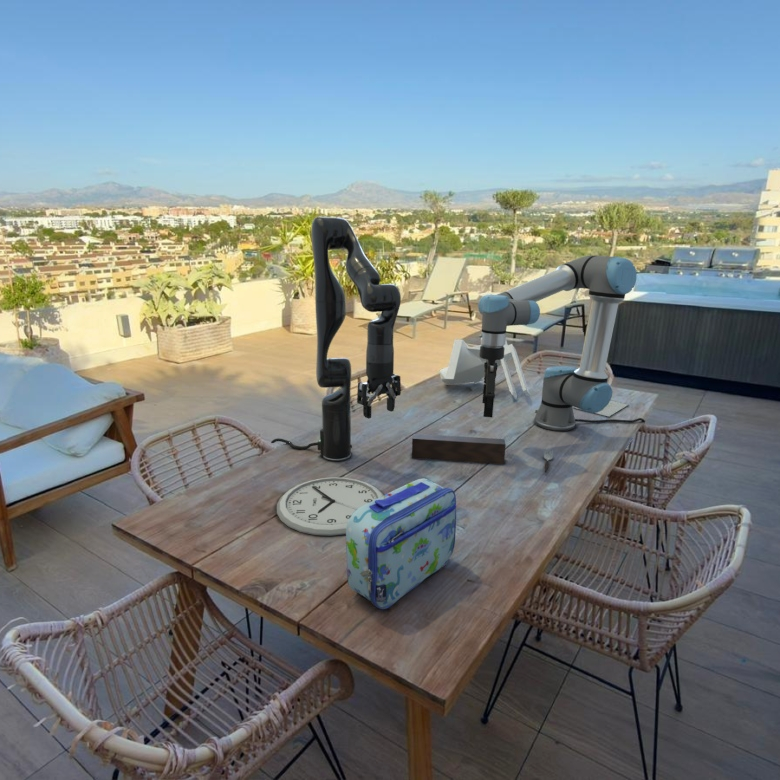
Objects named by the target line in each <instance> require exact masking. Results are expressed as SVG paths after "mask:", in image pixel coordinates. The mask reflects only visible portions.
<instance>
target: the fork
mask: <svg viewBox="0 0 780 780" xmlns="http://www.w3.org/2000/svg"><path fill="white" fill-rule="evenodd" d="M553 451H554V450H553V448H552V451H551V449H549V451H547V450H545V452H544V455H543V459H545V460H546V461H545V463H544V473H547V470H548V468H549V461H551V460H553Z"/></svg>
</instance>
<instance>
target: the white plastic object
mask: <svg viewBox="0 0 780 780" xmlns="http://www.w3.org/2000/svg"><path fill="white" fill-rule="evenodd" d="M481 345H482V344H479V345H473V346H469V345H468V343H466V342H465V340H464V339H463V338H460V339H458V338H454V340H453V344H452V349H451V353H450V357H449V362H448V366H446V367H444V368H442V369H440V370H439V371H438V372H439V376H440V381H442V383H443V384H444V385H445V386H449V385H458V384H467V383H468V384H469V383H473V384H477V383H480V382H482V381H484V376H485V372H484V363H485V362H486V359H483V358H481V357H480V346H481ZM503 347H504V348H505V349H504V358H503V359H501V360H496V361H495V363H497V368H499V367H500V366H502V370H503V373H504V376H505V380H506V383H507V386H508V390H509V393H510V394H511V395H512V397H513V398H514V399H515V400H517V392H516V391H517V390H516V388H515V385H514V381H513V378H512V375H511V371H510V369H509V365H508V361H510V360H513V363H514V366H515V369H516V372H517V376H518V380H519V382H520V385H521V389H522V391H523V393H524V395H525V396H526V397H528V396H531V395H530V390H529V388H528V387H529V386H528V384H527V381H526V378H525V375H524V371H523V369H522V368H523V367H522V366H521V362H520V359H519V355H518V352H517V349H516V347H515V346H514V345H513V343H511V344H508V341H507V339H506V340H505V345H504V346H503Z"/></svg>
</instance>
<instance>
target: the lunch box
mask: <svg viewBox="0 0 780 780" xmlns="http://www.w3.org/2000/svg"><path fill="white" fill-rule="evenodd" d="M456 498H457V496H456V493H455V491H454V489H452V488H450V487H443V486H441V485H439V484H438V483H436V482H433V481H432V480H430V479H427V478H423V477H422V478H418V479H416V480H413V481H411V482H409V483H406V484H405V485H402V486H400V487H398V488H396V489H394V490H392V491H390V492H388V493H386V494H384V496H382V497H380V498H378V499H376V500H374V501H372V502H370V503H368V504H366V505H364V506H362V507H360V508H358V509H357V510H356V511H355V512H354V513H353V514H352V515H351V517H350V519H349V521H348V524H347V528H346V534H345V547H346V549H345V550H346V572H347V573H346V575H347V584H348V587H349V589H350V590H351V591H353V592H355V593H357V594H358V595H361V596H363V597H364V598H365V599H367V600H368V601H369V602H371V604H372V605H373V606H374V607H376V608H377V609H380V610H386V609H389V608H391V607H393V605H395V603H397V602H398V601H399V600H400V599H402V598H403V597H404V596H405V595H408V593H410V592H411V591H412V590H413V589H415V588H416V587H417V586H419V585H420V584H421V583H423V581H424V580H425V579H427V578H428V577H430V576H431V575H433V574H435V573H437V572H438V571H439V570H441V569H442V568H443V567H444V566H446V564H447V563H448V562H449V560H450V559H451V556H452V555H453V552H454V548H455V544H456V531H457V530H456V529H457V499H456Z"/></svg>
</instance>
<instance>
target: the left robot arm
mask: <svg viewBox="0 0 780 780" xmlns="http://www.w3.org/2000/svg"><path fill="white" fill-rule="evenodd" d="M311 223H312V224H311V228H310V239H311V249H312V258H313V266H314V267H313V268H314V300H315V302H314V305H315V308H314V309H315V325H316V363H315V364H316V365H315V366H316V371H315V374H316V383H317V385H318V387H319V388H324V389H325V388H327V389H328V388H338V389H336V390H335V391H333V392H332V393H329V394H327V395H325V396H324V397H323V398H322V400H321V422H322V423H321V425H322V428H321V429H319V440H317V442H316V441H315V442H311V443H309V444H308V445H302V446H301V445H294V444H293V442H292V441H290V440H287V439H284V438H274V439H272V440H271V441H270V443H271V444H274V443H276V442H282V443H284V444H288V445H289V446H290V448H293V449H296V450H308V449H310V448H311V447H314V446H315V447H316V446H317V451H319V452H320V458H324V460H326V461H330V462H343V461H346V460H348V459H350V458H351V457H352V449H353V445H352V430H351V429H352V426H351V425H352V423H351V421H352V419H351V417H352V415H351V406H352V405H351V398H352V397H351V394H352V393H351V387H352V363H351V360H350V359H349V358H348V357H328V353H329V349H330V346H331V345H332V342H333V340H334V338H335V336H336V335H337V333H338V332H339V330H340V329H341V327H342V325H343V323H344V321H345V320H346V316H347V308H346V307H347V305H346V301H347V299H346V293H345V290H344V288H343V286H342V285H341V283H340V281H339V280H338V278H337V277H336V275H335V273H334V272H333V271H334V270H333V268H332V267H331V262H330V258H329V251H339V250H340V251H341V250H342V251H343V252H344V253H345V254H346V259H345V270H346V274H347V275H348V277H349V279H350V280H351V282H352V283H353V284H354V285H355V287H356V290H357V293H358V296H359V299H360V304H361V307H362V308H363V309H364V310H365V311H367V312H369V313H380V315H379V317H376V318H375V319H373V320H370V321H369V322H368V323H367V330H366V333H367V334H366V335H367V341H366V350H365V351H366V352H365V355H366V356H365V374H366V377H367V380H366V382H361V381H360V382H358V383H357V394H356V403H357V404H359V405H361V406H363V408H362V410H363V411H362V412H363V417H364V418H366V419H368V420H369V419H371V418H372V404H373V402H374V400H376V399H377V397H378V396H381V395H386V396H387V398H386V410H387V411H388V412H394V411H395V408H396V398H397V397H398V396H401V393H402V392H401V391H402V389H401V387H402V385H401V375H398V374H395V373H394V367H395V365H394V364H395V363H394V362H395V348H394V328H395V324H396V321H397V317H398V314H399V310H400V307H401V303H402V295H401V291H400V288H399V287H398V286H397V285H396V284H393V283H382V284H380V283H381V276H380V273H379V272H378V270H377V269H376V268H375V267H374V265H373V264H372V263H371V261H370V260H369V259H368V258H367V256H366V254H365V253H364V251H363V249H362V247H361V244H360V242H359V240H358V238H357V236H356V234H355V232H354V230H353V228H352V226H351V225H350V222H349V221H347V219H345V218H343V217H333V216H331V217H330V216H316V217H314V219H313V221H312V222H311ZM289 442H290V443H289Z"/></svg>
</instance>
